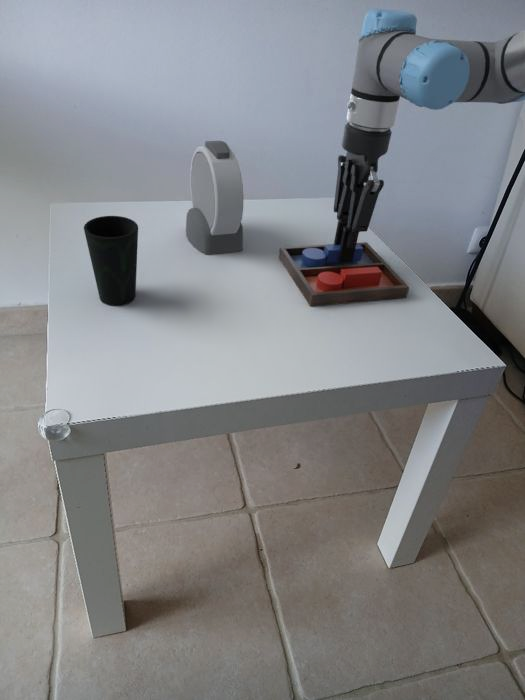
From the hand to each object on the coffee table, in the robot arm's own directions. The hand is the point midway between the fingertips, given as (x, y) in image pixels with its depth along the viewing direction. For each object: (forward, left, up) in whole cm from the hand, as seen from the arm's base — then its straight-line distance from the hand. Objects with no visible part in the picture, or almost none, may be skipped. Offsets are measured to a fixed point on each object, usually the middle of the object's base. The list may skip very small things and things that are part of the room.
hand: (342, 257), depth 98 cm
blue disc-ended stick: (+2, +2, 0) cm, 3 cm away
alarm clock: (+24, +8, -2) cm, 25 cm away
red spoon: (-5, +7, -1) cm, 8 cm away
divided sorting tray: (-2, +4, -2) cm, 5 cm away
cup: (+22, +35, -2) cm, 41 cm away
